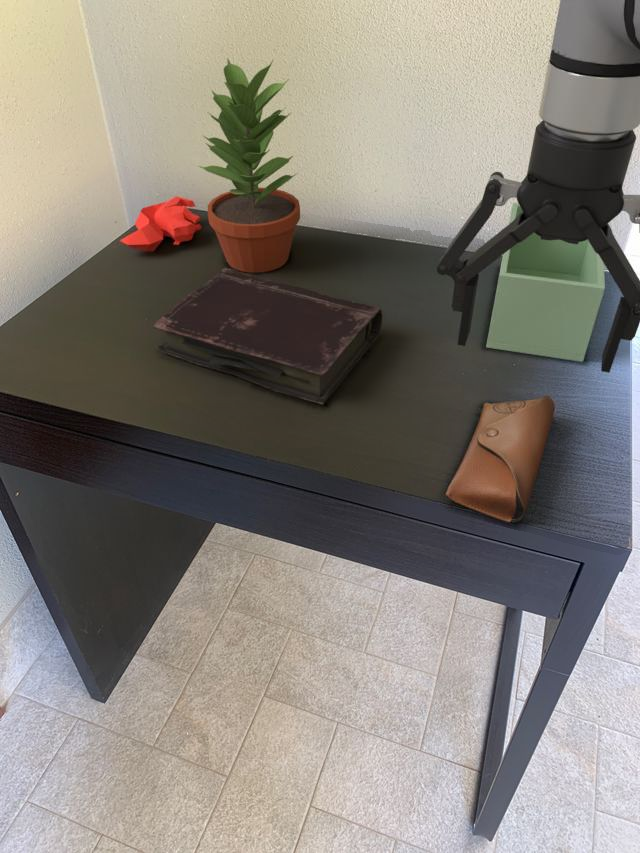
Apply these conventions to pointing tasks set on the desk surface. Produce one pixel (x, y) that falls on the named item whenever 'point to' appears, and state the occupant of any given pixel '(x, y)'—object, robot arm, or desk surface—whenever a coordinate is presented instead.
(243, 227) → the potted plant
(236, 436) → the desk surface
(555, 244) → the green open box
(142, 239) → the animal figurine
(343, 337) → the diary
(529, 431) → the sunglasses case
